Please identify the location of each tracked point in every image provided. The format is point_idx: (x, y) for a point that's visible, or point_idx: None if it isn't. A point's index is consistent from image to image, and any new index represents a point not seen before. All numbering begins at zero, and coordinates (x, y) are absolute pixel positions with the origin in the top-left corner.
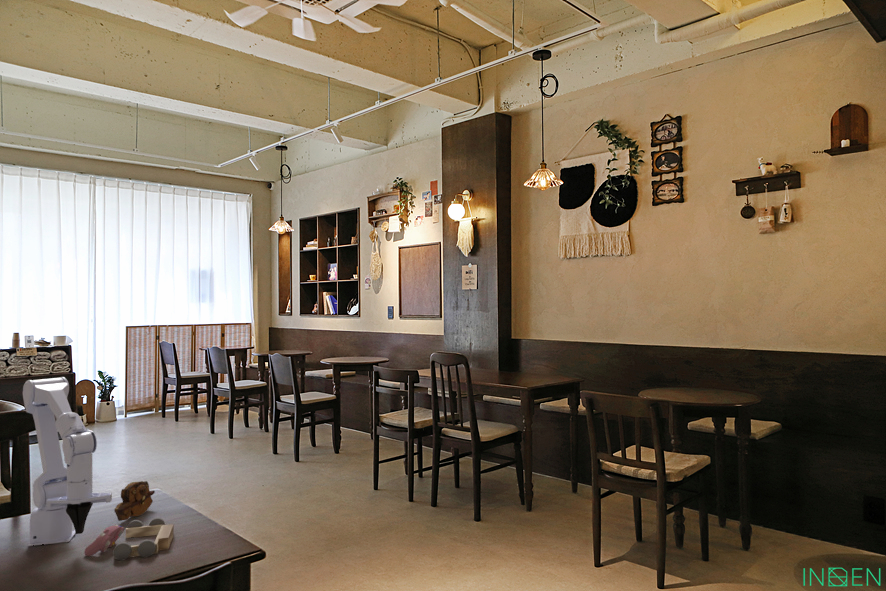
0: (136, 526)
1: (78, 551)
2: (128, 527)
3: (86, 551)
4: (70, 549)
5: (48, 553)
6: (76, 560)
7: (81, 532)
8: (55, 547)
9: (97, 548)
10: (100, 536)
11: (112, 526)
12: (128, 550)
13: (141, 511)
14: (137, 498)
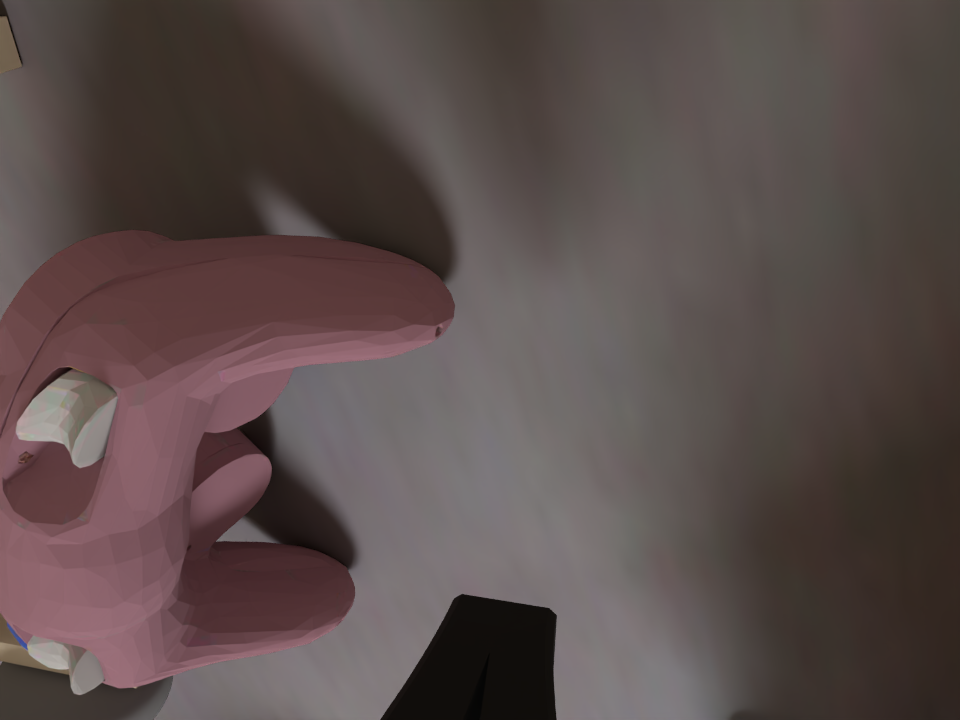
0: (49, 680)
1: (576, 463)
2: (121, 693)
3: (404, 284)
4: (684, 556)
5: (946, 551)
6: (531, 161)
7: (454, 609)
8: (866, 673)
9: (220, 242)
10: (103, 380)
11: (27, 612)
12: None
13: None
14: None
